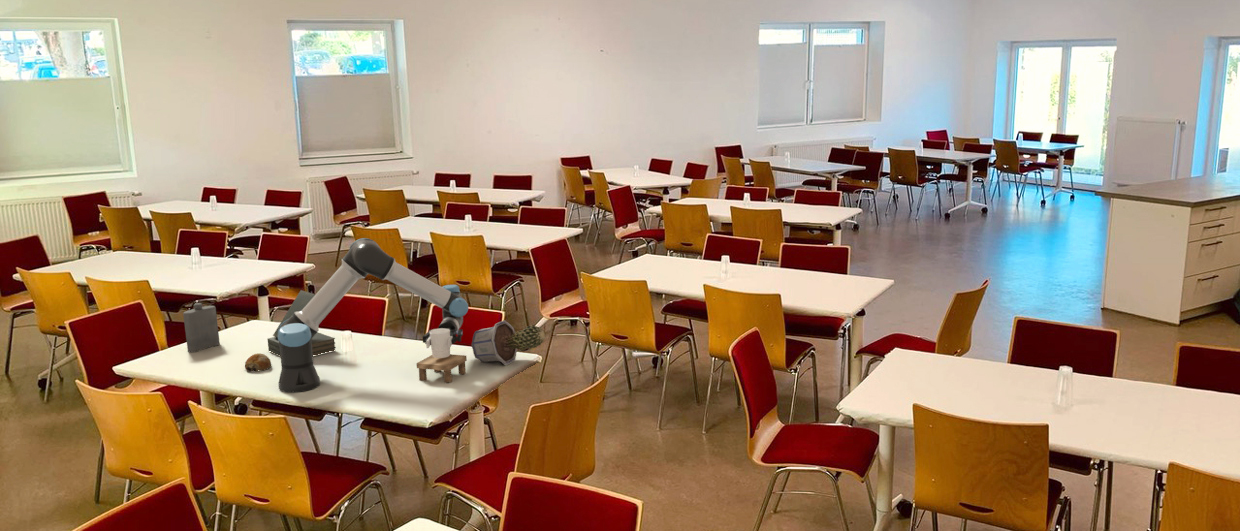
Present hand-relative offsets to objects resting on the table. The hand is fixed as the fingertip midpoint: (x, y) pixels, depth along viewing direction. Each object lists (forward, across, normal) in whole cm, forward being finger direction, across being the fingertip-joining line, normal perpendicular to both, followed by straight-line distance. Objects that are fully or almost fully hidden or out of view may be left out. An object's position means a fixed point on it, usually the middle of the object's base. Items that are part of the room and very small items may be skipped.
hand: (438, 344), depth 368 cm
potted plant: (-20, -25, -15) cm, 35 cm away
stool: (-5, 0, -14) cm, 15 cm away
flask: (-56, +115, -15) cm, 129 cm away
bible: (-46, +68, -15) cm, 84 cm away
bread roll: (-23, +79, -15) cm, 83 cm away
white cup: (-5, 0, -6) cm, 8 cm away
